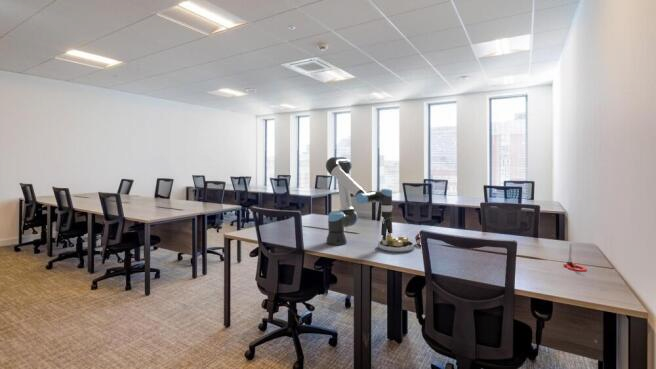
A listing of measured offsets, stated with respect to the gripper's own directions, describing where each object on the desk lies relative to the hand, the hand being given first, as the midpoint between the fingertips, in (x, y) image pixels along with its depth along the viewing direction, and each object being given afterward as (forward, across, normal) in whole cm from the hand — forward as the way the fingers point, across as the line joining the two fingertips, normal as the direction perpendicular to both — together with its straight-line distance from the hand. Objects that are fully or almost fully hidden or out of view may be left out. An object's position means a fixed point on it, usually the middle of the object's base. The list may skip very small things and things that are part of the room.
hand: (387, 243), depth 228 cm
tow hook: (+3, +6, -106) cm, 107 cm away
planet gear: (0, 0, 0) cm, 0 cm away
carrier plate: (+3, 0, -6) cm, 7 cm away
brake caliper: (+3, +18, -20) cm, 27 cm away
